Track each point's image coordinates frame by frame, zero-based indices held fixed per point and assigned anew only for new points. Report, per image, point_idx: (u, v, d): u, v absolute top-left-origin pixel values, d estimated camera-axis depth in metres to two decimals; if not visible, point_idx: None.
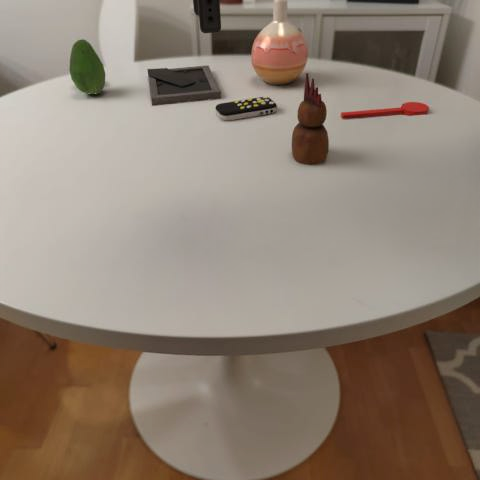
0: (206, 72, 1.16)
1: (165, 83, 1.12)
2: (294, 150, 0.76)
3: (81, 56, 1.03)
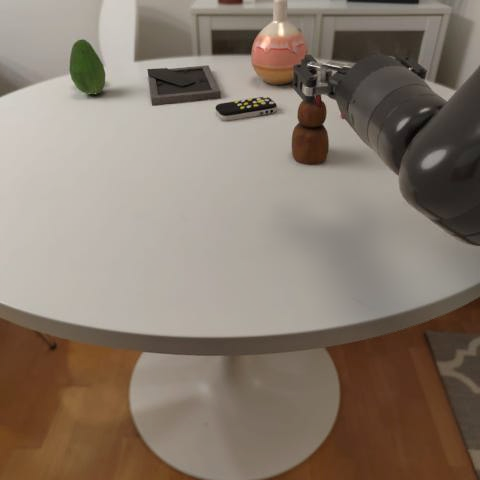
0: (206, 72, 1.16)
1: (165, 83, 1.12)
2: (294, 150, 0.76)
3: (81, 56, 1.03)
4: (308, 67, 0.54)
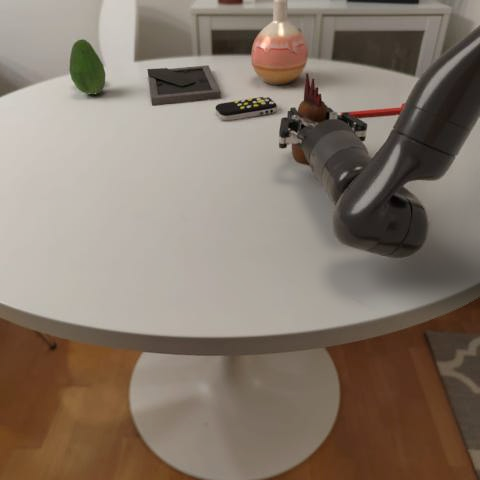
0: (206, 72, 1.16)
1: (165, 83, 1.12)
2: (294, 150, 0.76)
3: (81, 56, 1.03)
4: (292, 119, 0.72)
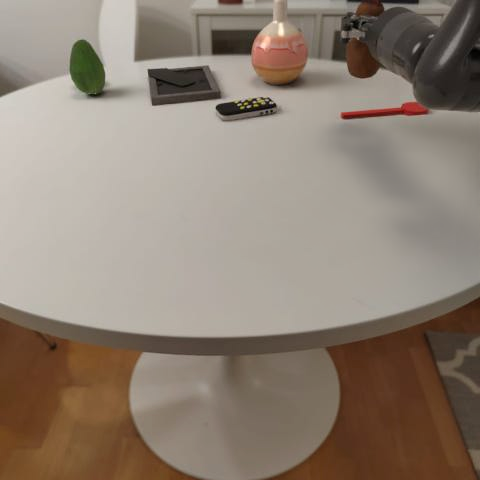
0: (206, 72, 1.16)
1: (165, 83, 1.12)
2: (350, 55, 0.77)
3: (81, 56, 1.03)
4: (352, 19, 0.73)
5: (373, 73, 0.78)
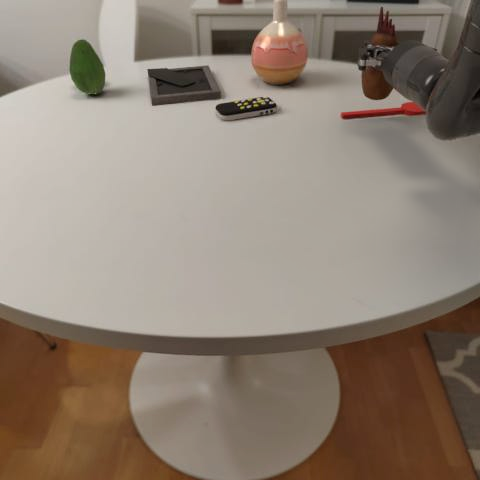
0: (206, 72, 1.16)
1: (165, 83, 1.12)
2: (365, 80, 0.85)
3: (81, 56, 1.03)
4: (368, 48, 0.81)
5: (386, 95, 0.86)
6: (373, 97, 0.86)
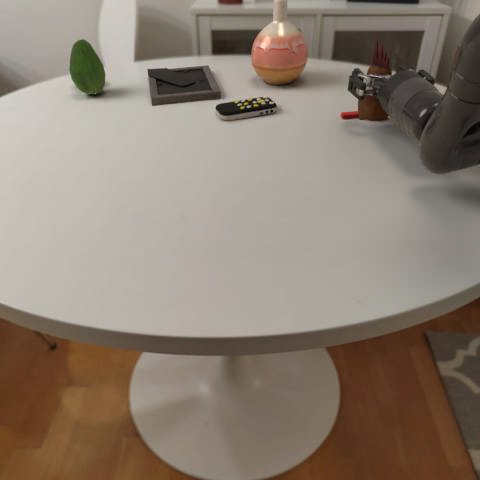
0: (206, 72, 1.16)
1: (165, 83, 1.12)
2: (361, 108, 0.89)
3: (81, 56, 1.03)
4: (358, 77, 0.83)
5: None
6: None
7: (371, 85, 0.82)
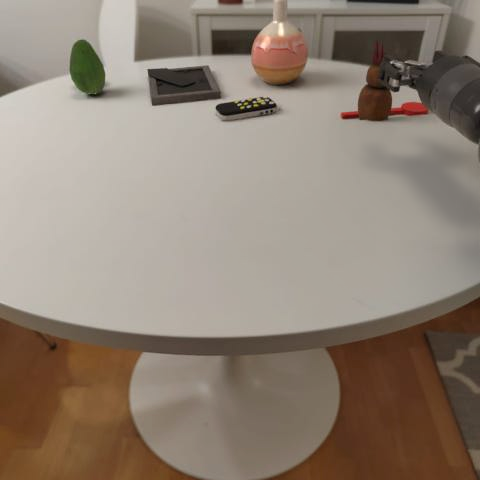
0: (206, 72, 1.16)
1: (165, 83, 1.12)
2: (361, 108, 0.89)
3: (81, 56, 1.03)
4: (391, 64, 0.70)
5: None
6: None
7: (406, 74, 0.69)
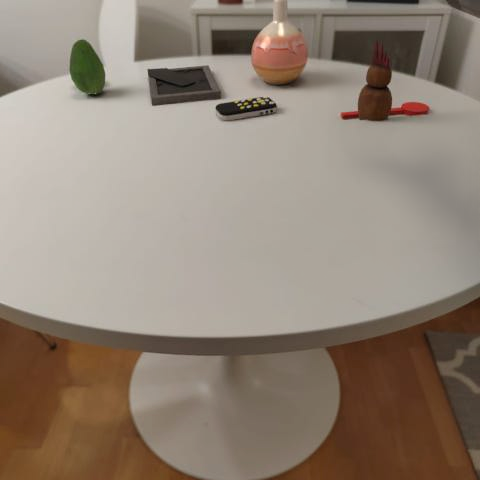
0: (206, 72, 1.16)
1: (165, 83, 1.12)
2: (361, 108, 0.89)
3: (81, 56, 1.03)
4: None
5: None
6: None
7: None
